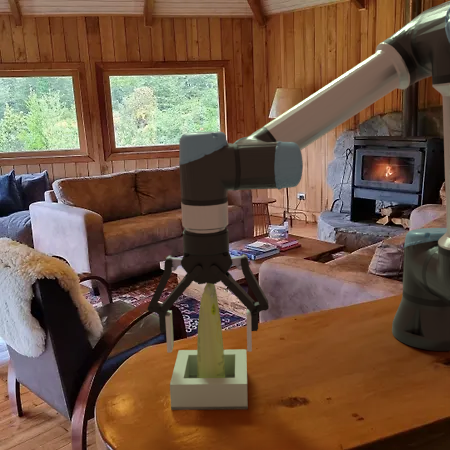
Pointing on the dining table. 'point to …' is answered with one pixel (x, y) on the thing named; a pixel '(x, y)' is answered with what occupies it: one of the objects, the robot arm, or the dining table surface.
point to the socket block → (209, 383)
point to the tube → (210, 337)
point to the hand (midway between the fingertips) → (209, 348)
